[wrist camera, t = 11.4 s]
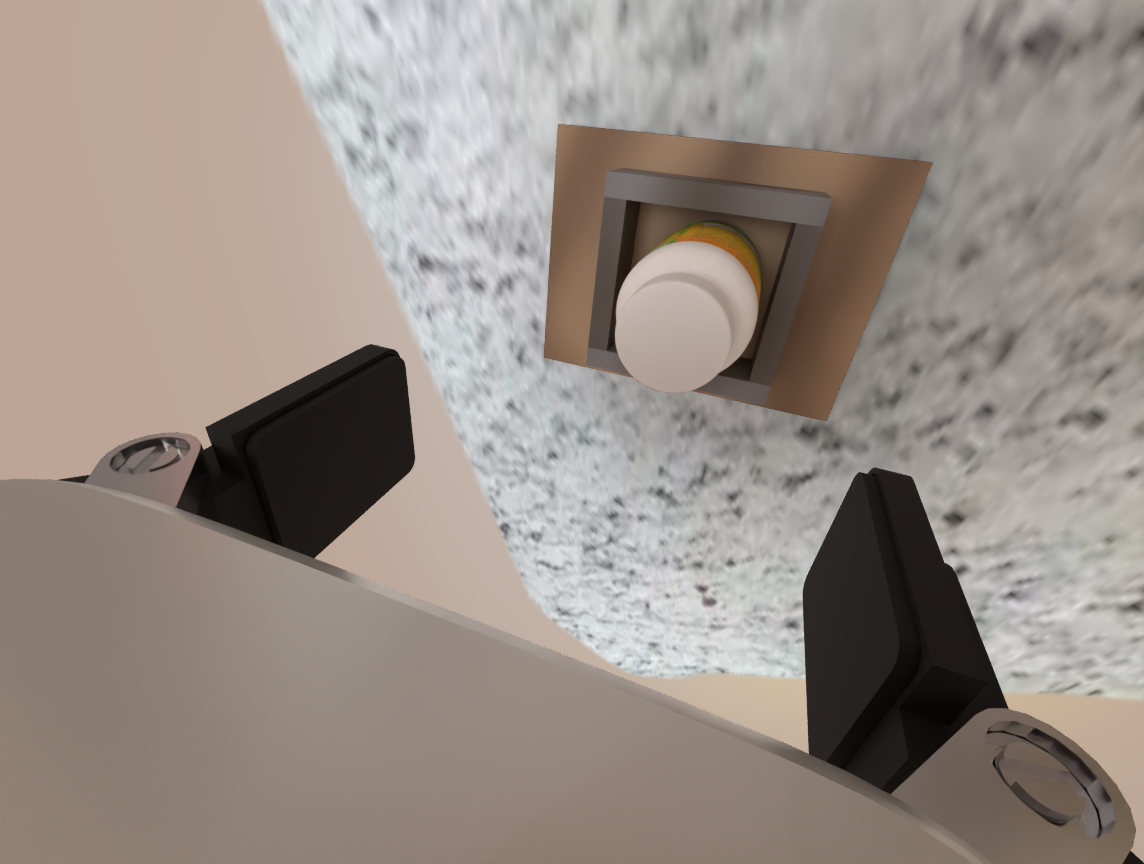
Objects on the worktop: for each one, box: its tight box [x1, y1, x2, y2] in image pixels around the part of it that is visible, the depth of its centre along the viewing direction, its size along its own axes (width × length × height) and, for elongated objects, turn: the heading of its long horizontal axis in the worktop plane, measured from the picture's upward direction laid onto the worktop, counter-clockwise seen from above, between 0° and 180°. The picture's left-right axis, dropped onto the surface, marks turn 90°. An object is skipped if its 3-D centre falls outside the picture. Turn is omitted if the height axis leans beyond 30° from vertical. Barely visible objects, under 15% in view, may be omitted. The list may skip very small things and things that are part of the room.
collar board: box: [544, 124, 932, 421], centre depth 24 cm, size 16×12×4 cm
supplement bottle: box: [615, 220, 762, 393], centre depth 21 cm, size 5×5×10 cm
